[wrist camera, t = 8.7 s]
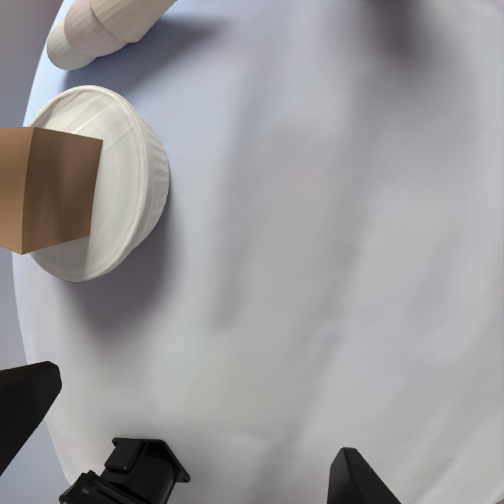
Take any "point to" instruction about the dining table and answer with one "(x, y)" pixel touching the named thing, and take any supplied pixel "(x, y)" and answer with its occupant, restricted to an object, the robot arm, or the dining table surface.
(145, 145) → the ramekin
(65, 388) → the dining table surface
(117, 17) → the ice cream cone
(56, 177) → the walnut cube
